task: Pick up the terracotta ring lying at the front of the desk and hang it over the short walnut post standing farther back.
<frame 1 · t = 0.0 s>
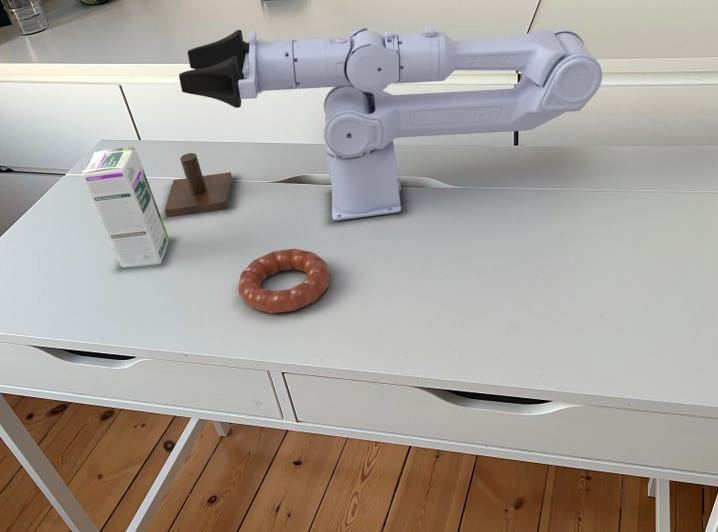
hand: (185, 70, 95), 22 cm above the table, tool horizontal, fingers open, 7 cm apart
post: (200, 197, 116), on the table
ring: (284, 279, 95), point 1 cm above the table
syrup box: (146, 256, 106), on the table
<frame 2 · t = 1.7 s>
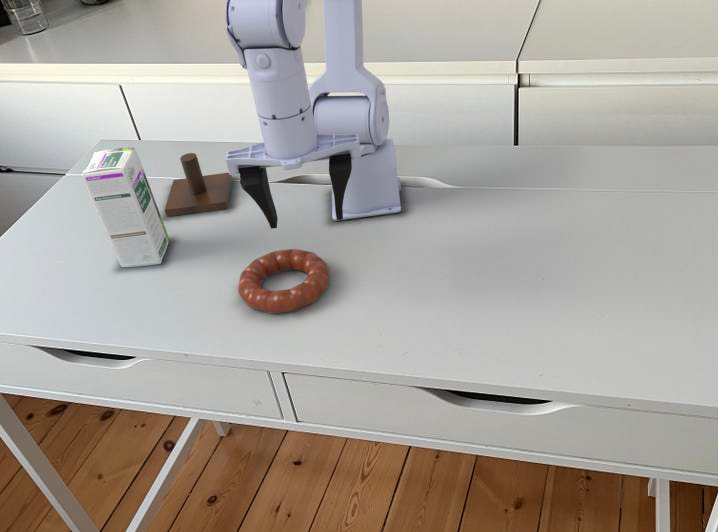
hand: (307, 219, 89), 9 cm above the table, tool pointing down, fingers open, 7 cm apart
nothing on the table moved.
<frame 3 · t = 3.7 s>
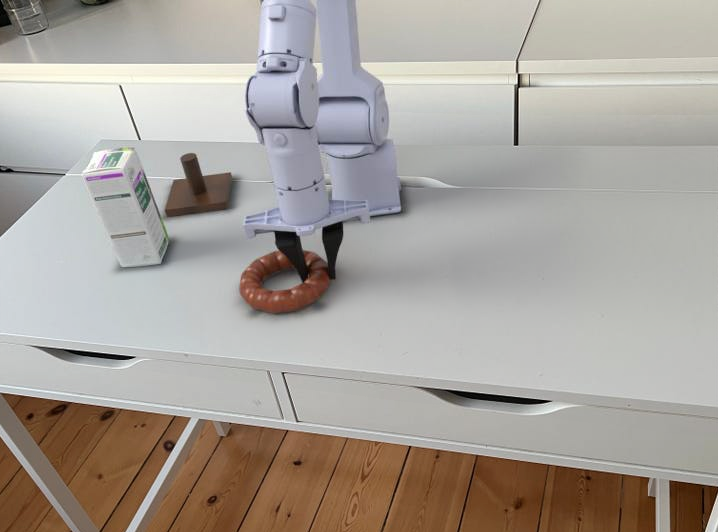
hand: (318, 276, 95), 1 cm above the table, tool pointing down, fingers closed on ring, 3 cm apart
ring: (284, 279, 95), point 1 cm above the table, touching gripper
everything else where it was.
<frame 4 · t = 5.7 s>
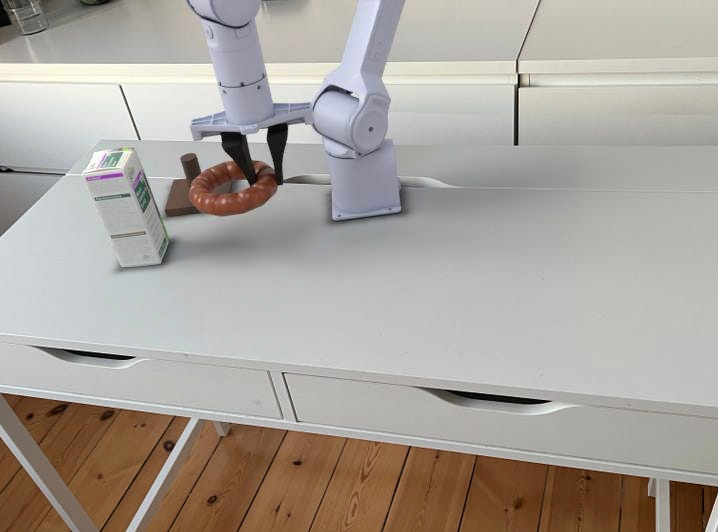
hand: (267, 183, 97), 9 cm above the table, tool pointing down, fingers closed on ring, 3 cm apart
ring: (233, 186, 97), point 10 cm above the table, touching gripper
everything else where it was.
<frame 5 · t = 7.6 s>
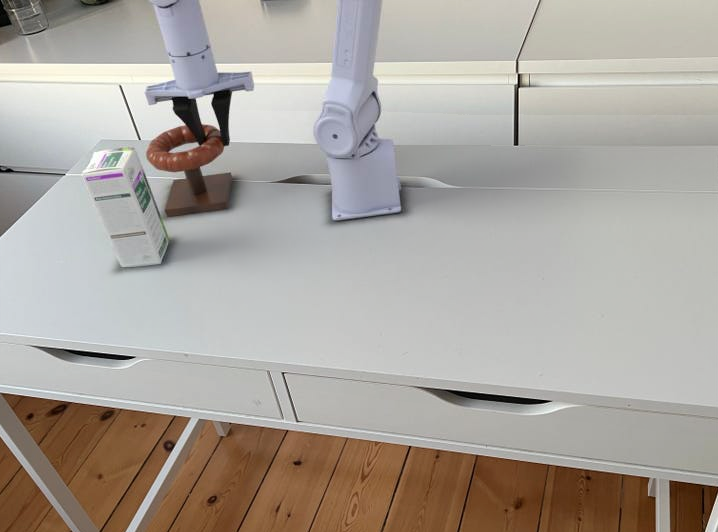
hand: (215, 144, 110), 8 cm above the table, tool pointing down, fingers closed on ring, 3 cm apart
ring: (186, 147, 110), point 8 cm above the table, touching gripper
everything else where it was.
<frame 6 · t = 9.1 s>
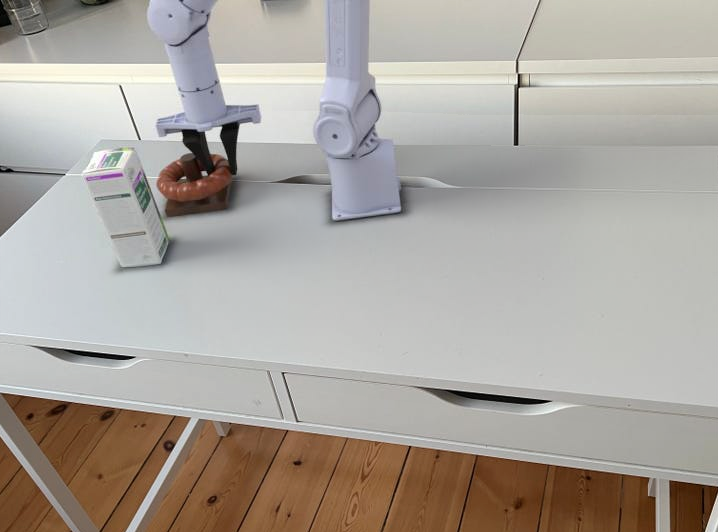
hand: (223, 173, 113), 3 cm above the table, tool pointing down, fingers closed on ring, 3 cm apart
ring: (195, 176, 114), point 3 cm above the table, touching gripper
everything else where it was.
when the fingers open (4 cm above the table, at t = 12.0 s): ring drops 1 cm, resting on post.
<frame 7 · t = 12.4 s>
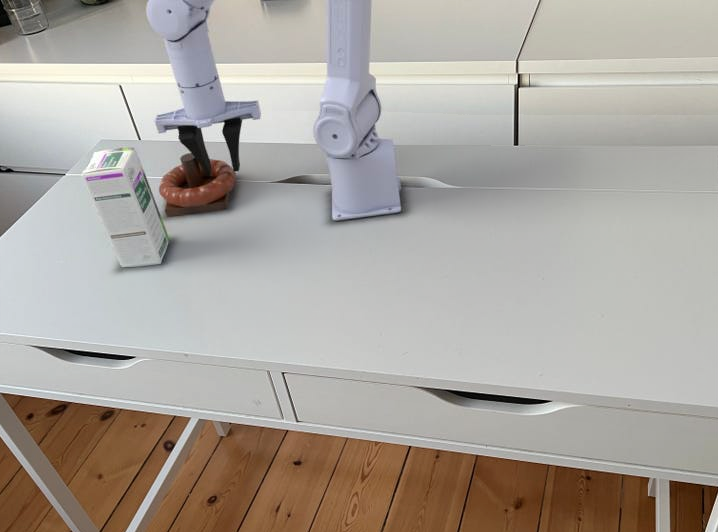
hand: (223, 170, 113), 4 cm above the table, tool pointing down, fingers open, 4 cm apart
ring: (197, 182, 114), point 2 cm above the table, touching post
everything else where it was.
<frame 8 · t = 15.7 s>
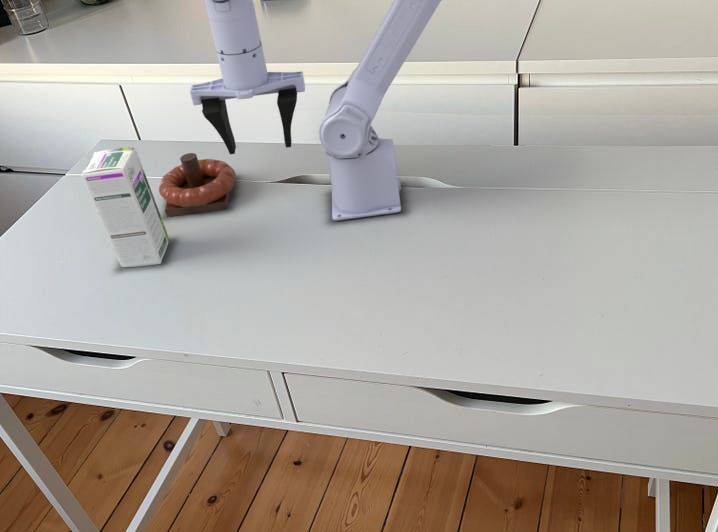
hand: (260, 147, 105), 9 cm above the table, tool pointing down, fingers open, 7 cm apart
nothing on the table moved.
at the end: ring 0.2 cm from the post (horizontally); ring point 2.5 cm above the table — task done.
